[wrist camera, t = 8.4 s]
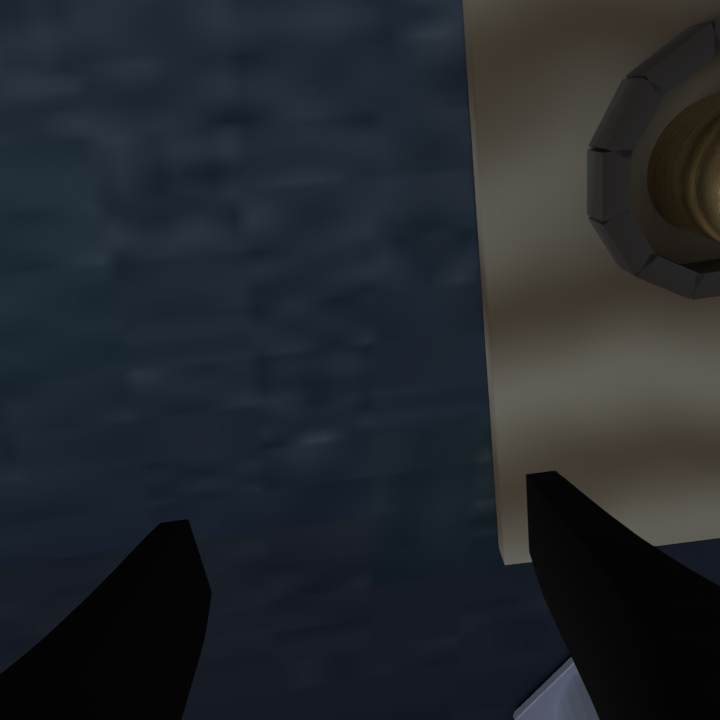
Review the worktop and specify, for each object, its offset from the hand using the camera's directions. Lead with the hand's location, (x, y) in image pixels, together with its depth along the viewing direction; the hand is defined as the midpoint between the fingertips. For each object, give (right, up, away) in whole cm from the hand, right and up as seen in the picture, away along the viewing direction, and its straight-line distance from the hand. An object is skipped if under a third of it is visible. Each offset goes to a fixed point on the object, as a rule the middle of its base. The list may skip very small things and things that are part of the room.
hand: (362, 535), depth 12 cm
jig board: (+11, +6, +8) cm, 15 cm away
